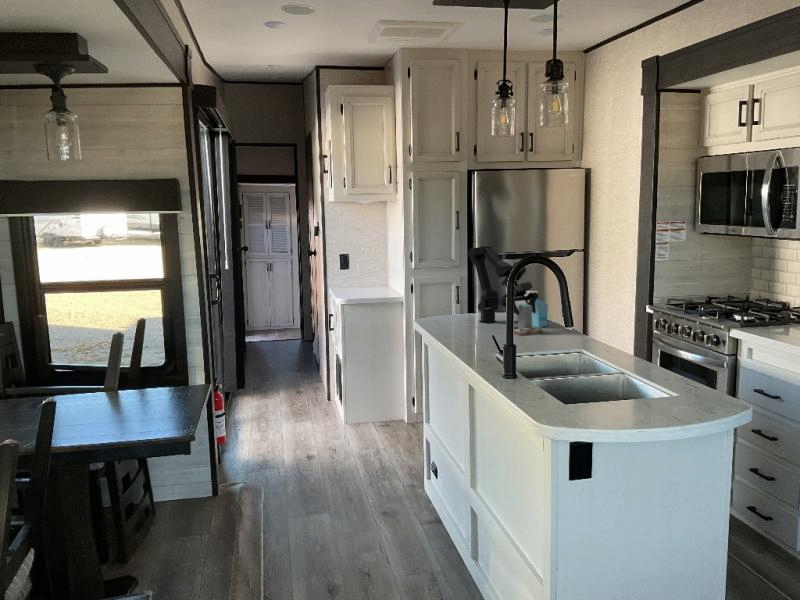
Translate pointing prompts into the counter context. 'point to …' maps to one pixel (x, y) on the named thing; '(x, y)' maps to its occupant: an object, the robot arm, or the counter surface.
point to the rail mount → (527, 330)
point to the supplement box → (522, 302)
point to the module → (524, 316)
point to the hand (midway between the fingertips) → (526, 313)
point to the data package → (540, 314)
